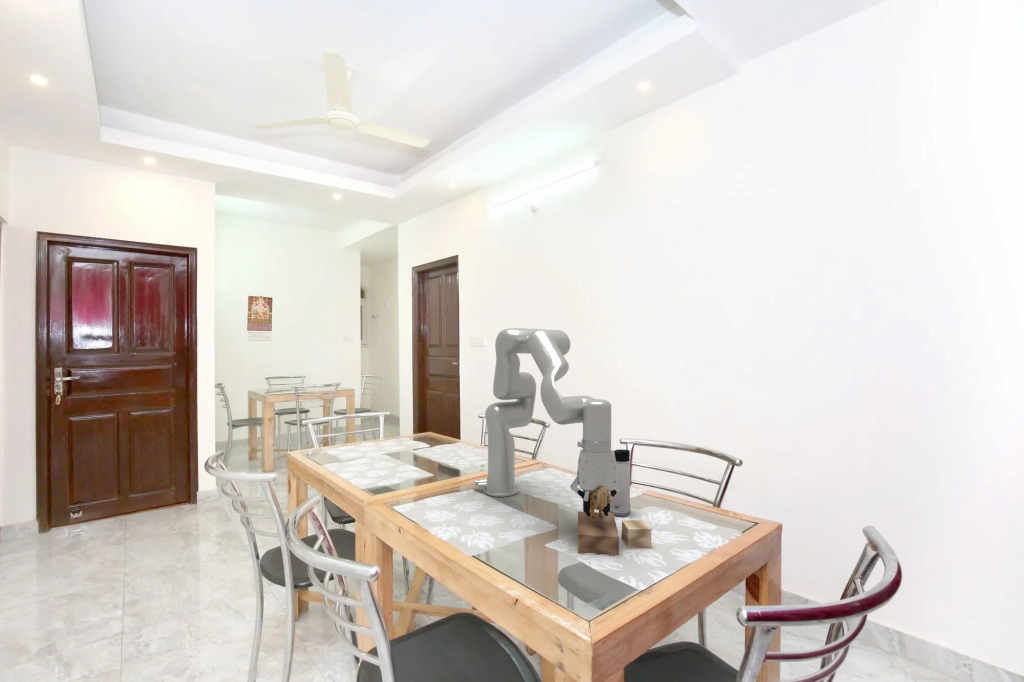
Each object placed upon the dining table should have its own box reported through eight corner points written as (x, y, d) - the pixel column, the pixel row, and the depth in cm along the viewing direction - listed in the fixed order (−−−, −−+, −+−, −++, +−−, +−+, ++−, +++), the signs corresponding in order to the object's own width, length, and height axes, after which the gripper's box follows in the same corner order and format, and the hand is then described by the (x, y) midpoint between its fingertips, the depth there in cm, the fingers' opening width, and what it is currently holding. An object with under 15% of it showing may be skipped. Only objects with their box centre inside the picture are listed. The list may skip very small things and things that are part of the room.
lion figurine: (615, 524, 117) (615, 489, 117) (596, 526, 116) (596, 490, 116) (591, 504, 131) (591, 473, 131) (574, 506, 130) (574, 474, 130)
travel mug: (619, 518, 137) (619, 452, 137) (605, 511, 143) (605, 447, 143) (635, 515, 140) (635, 450, 140) (620, 508, 146) (620, 445, 146)
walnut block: (578, 554, 114) (578, 534, 114) (577, 528, 130) (577, 511, 130) (618, 557, 113) (618, 536, 113) (613, 531, 129) (613, 513, 129)
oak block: (628, 548, 117) (628, 529, 117) (621, 538, 123) (621, 520, 123) (651, 548, 117) (651, 529, 117) (643, 538, 123) (643, 520, 123)
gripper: (568, 449, 118) (567, 520, 117) (632, 449, 119) (631, 519, 119) (563, 443, 125) (562, 509, 125) (623, 442, 126) (623, 508, 126)
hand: (596, 513), depth 122 cm, fingers closed on lion figurine, 4 cm apart
